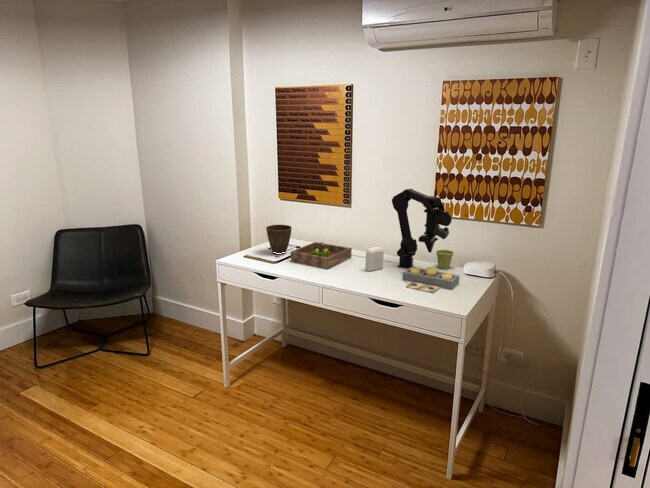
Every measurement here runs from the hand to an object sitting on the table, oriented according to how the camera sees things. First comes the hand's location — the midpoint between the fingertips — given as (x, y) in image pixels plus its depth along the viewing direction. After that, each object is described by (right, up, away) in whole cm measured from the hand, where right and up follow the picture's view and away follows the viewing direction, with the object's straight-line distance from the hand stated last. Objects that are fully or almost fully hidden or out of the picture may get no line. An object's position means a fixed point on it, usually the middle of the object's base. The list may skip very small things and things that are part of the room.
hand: (429, 252), depth 231 cm
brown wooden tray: (-55, -5, +29) cm, 63 cm away
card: (-7, -17, -14) cm, 23 cm away
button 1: (-8, -12, -1) cm, 15 cm away
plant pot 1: (-80, -2, +42) cm, 91 cm away
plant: (-55, -5, +29) cm, 63 cm away
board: (-1, -14, -5) cm, 15 cm away
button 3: (+6, -15, -10) cm, 19 cm away
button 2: (-1, -12, -6) cm, 13 cm away
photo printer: (-27, -10, +13) cm, 31 cm away
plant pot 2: (+11, -9, +17) cm, 22 cm away
